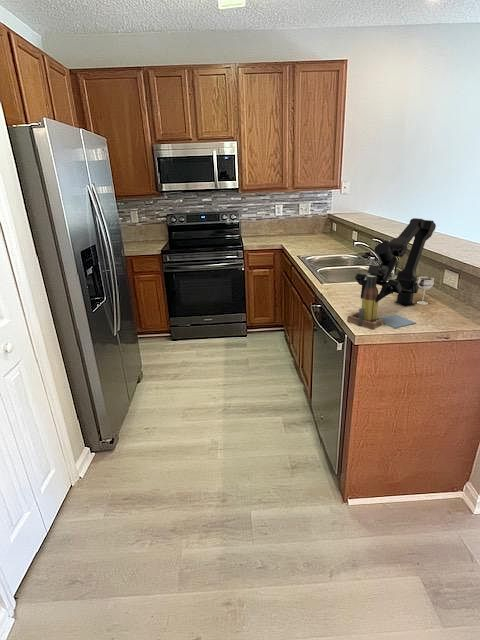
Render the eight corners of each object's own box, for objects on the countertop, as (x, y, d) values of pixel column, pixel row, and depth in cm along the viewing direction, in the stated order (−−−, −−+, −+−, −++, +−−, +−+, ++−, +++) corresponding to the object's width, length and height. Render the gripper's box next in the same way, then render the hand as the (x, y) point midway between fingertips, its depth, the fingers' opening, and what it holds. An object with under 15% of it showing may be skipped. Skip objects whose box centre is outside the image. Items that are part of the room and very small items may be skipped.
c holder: (356, 317, 159) (358, 302, 156) (382, 324, 150) (384, 308, 148) (346, 322, 154) (347, 306, 152) (372, 330, 146) (374, 313, 143)
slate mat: (395, 315, 160) (395, 314, 159) (415, 323, 150) (415, 322, 150) (375, 319, 156) (375, 318, 156) (394, 328, 146) (395, 327, 146)
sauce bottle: (373, 317, 157) (378, 272, 149) (378, 323, 151) (384, 276, 143) (357, 318, 157) (362, 273, 149) (362, 324, 151) (367, 277, 143)
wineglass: (431, 305, 169) (436, 280, 165) (415, 304, 171) (419, 280, 166) (428, 300, 175) (432, 276, 171) (413, 300, 177) (416, 276, 172)
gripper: (359, 254, 153) (341, 285, 151) (402, 260, 140) (383, 295, 137) (367, 268, 161) (351, 298, 158) (409, 276, 147) (392, 309, 145)
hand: (368, 300), depth 149 cm, fingers closed on sauce bottle, 6 cm apart
